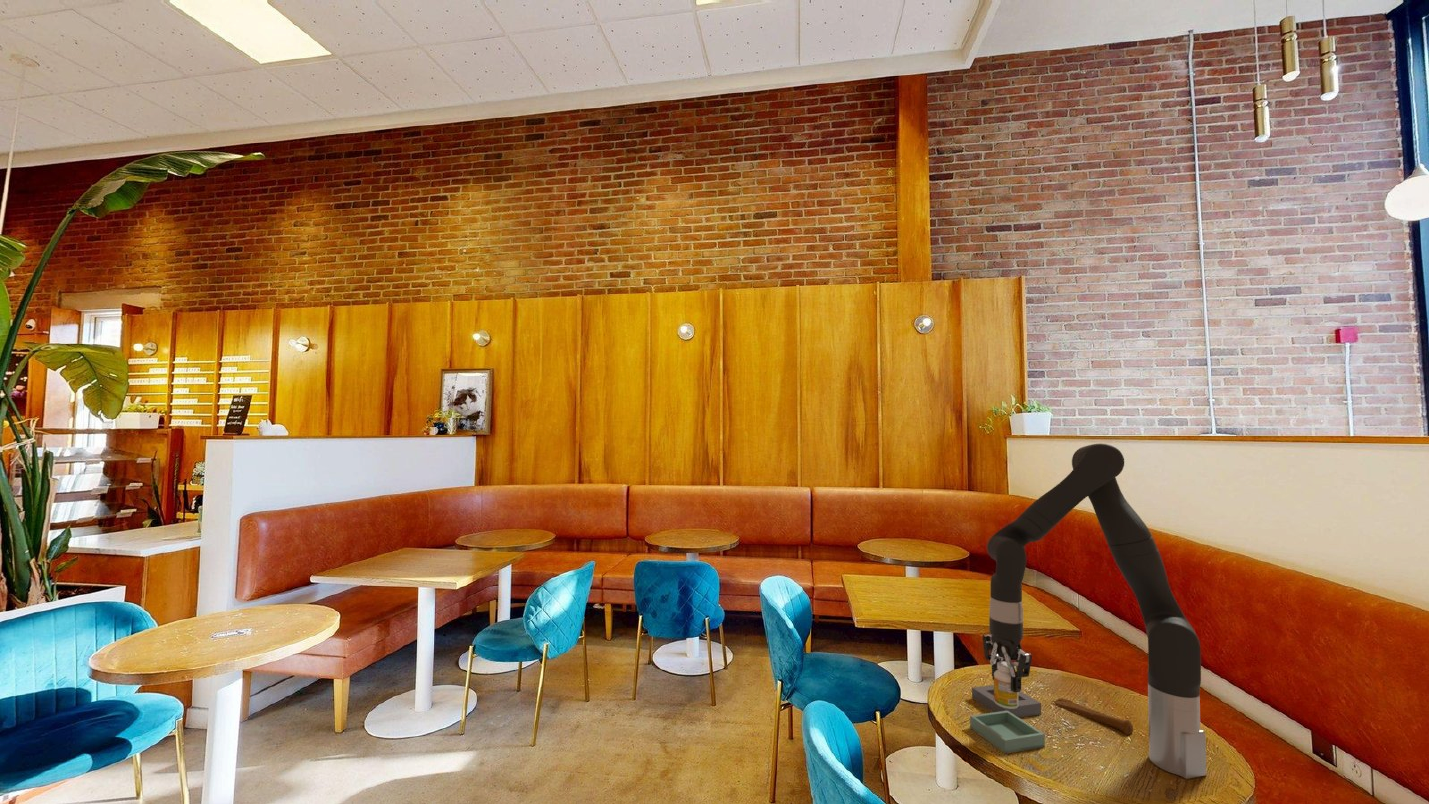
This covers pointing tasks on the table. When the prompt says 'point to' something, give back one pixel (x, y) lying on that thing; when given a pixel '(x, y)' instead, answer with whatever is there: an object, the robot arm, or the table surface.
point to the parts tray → (1007, 731)
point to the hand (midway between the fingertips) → (1006, 685)
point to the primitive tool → (1096, 715)
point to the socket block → (1024, 709)
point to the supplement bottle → (1004, 687)
